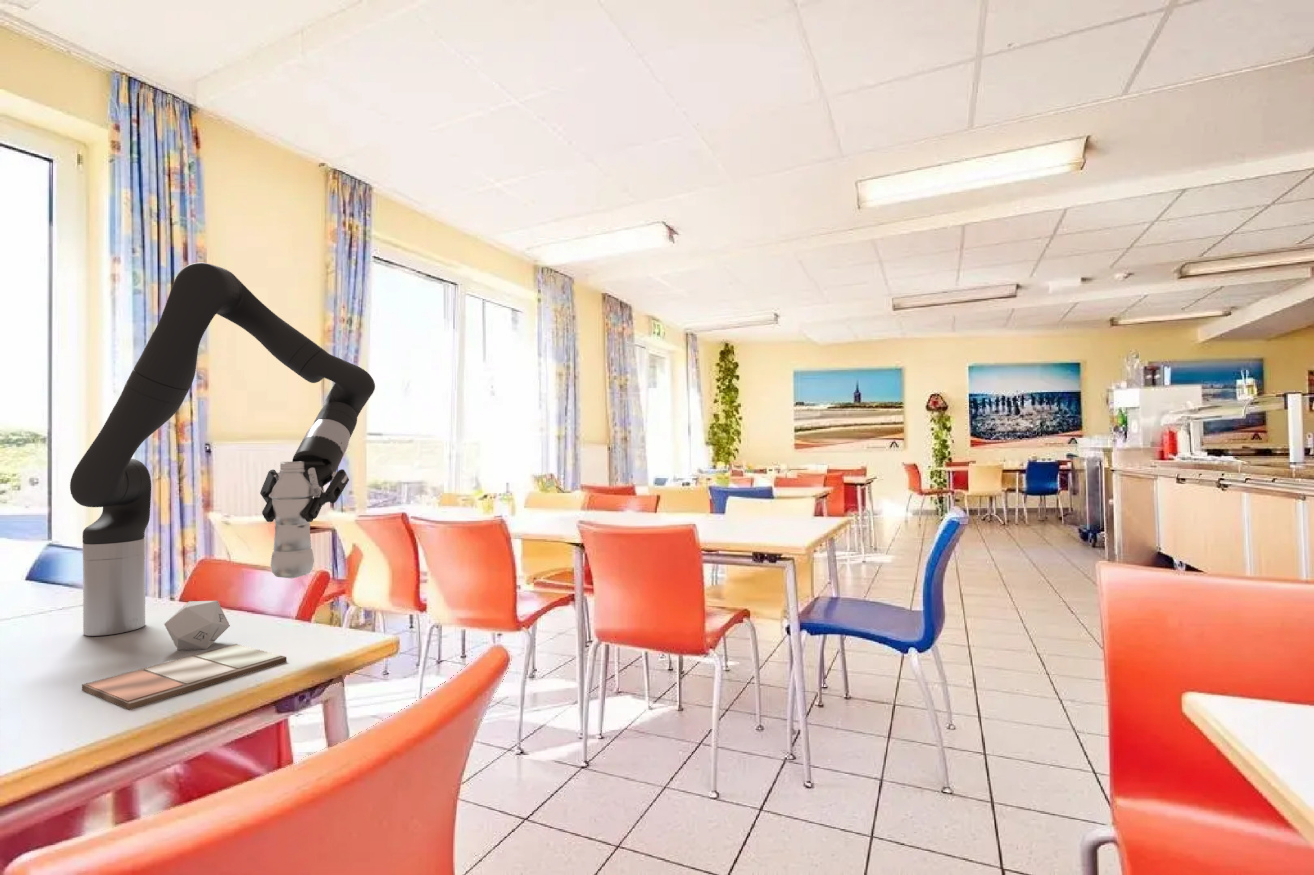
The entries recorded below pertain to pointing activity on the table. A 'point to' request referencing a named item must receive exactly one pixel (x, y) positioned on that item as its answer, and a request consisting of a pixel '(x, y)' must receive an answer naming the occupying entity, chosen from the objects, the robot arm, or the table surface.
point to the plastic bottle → (291, 523)
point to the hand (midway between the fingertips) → (287, 518)
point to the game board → (181, 675)
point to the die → (197, 625)
